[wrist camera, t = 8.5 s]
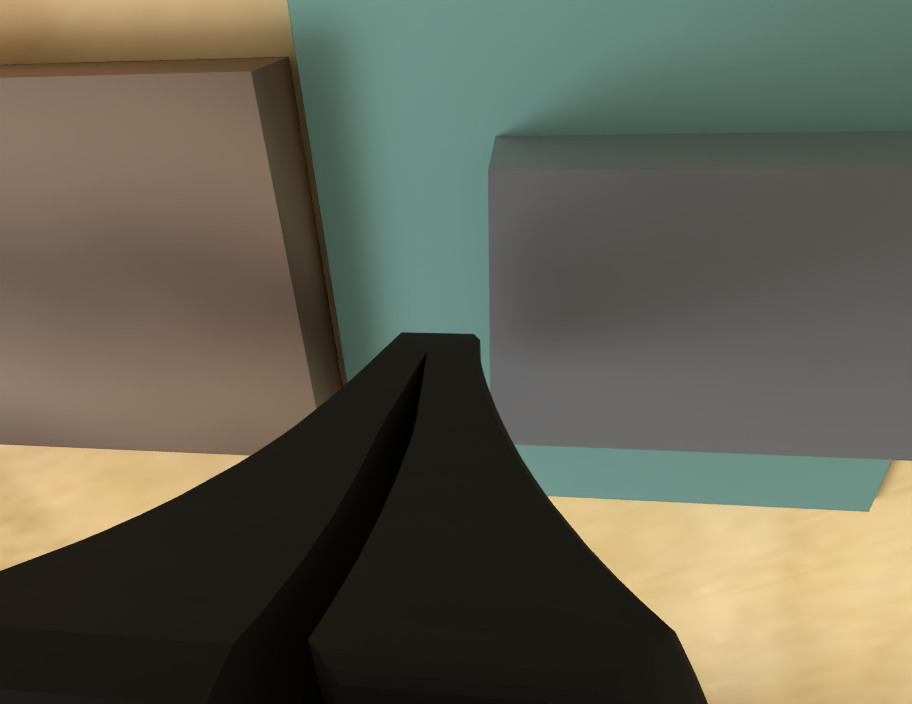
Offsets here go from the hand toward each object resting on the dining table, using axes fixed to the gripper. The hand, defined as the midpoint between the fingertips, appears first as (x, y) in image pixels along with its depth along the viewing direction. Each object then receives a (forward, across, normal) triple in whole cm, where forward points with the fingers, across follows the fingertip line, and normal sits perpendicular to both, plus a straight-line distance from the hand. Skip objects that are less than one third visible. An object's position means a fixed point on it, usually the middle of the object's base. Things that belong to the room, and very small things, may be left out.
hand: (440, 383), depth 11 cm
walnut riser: (+5, +9, 0) cm, 10 cm away
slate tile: (+4, -6, 0) cm, 7 cm away
